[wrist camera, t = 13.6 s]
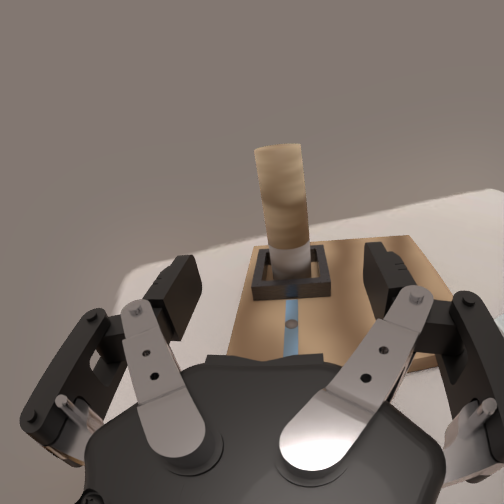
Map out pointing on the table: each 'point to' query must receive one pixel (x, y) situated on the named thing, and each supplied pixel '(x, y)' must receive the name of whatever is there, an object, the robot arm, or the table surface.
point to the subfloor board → (326, 307)
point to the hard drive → (500, 323)
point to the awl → (285, 209)
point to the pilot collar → (291, 286)
